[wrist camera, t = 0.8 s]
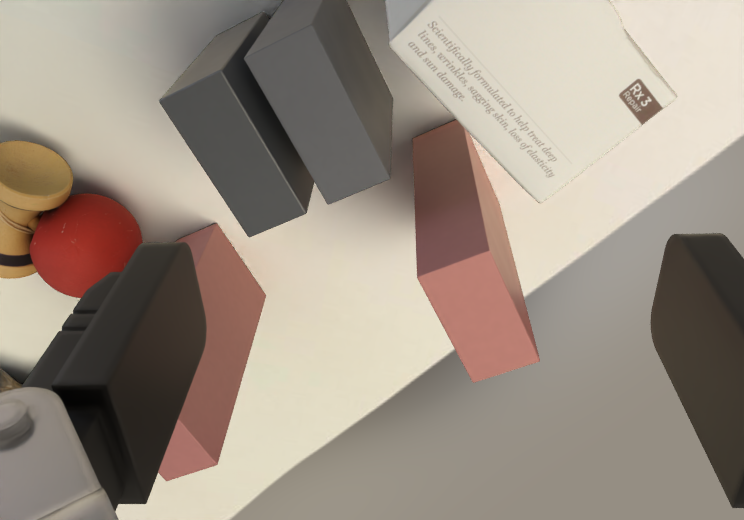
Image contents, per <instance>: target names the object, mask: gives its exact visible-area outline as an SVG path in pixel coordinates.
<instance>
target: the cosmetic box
mask: <svg viewBox="0 0 744 520" xmlns="http://www.w3.org/2000/svg"><path fill="white" fill-rule="evenodd" d="M385 4H386V13H387V20H388V30H389V40H390V41H389V46H390V48H391V49H392V50H393V51H394V52H395V53H396V54H397V55H398V56H399V58H400V59H401V60H402V61H403V62H404V63H405V64H406V65H407V66H408V68H409V69H410V70H411V71H412V72H413V73H414V74H415V75H416V76H417V77H418V78H419V80H420V81H421V82H422V83H423V84H424V85H425V86H426V87H427V88H428V89H429V90H430V92H431V93H432V94H433V95H434V96H435V97H436V98H437V99H438V100H439V101H440V102H441V104H442V105H443V106H444V107H445V108H446V109H447V110H448V111H449V112H450V113H451V114H452V115H453V116H454V117H455V118H456V119H457V120H458V122H459V123H460V124H461V125H462V126H463V127H464V128H465V129H466V130H467V131H468V132H469V133H470V134H471V135H472V136H473V137H474V138H475V139H476V140H477V141H478V142H479V143H480V144H481V145H482V146H483V147H484V148H485V149H486V150H487V151H488V152H489V154H490V155H491V156H492V157H493V158H494V159H495V160H496V161H497V162H498V163H499V164H500V165H501V166H502V167H503V168H504V169H505V170H506V171H507V172H508V173H509V175H510V176H511V177H512V178H513V179H514V180H515V181H516V182H517V183H518V184H519V185H520V186H521V187H522V188H523V189H524V190H525V191H526V192H528V193H529V194H530V195H531V196H532V197H533V198H534V199H535V200H536V201H537V202H538V203H543V202H544V201H545V200H547V199H548V198H549V197H551V196H552V195H553V194H555V193H556V192H558V191H559V190H560V189H561V188H563V187H564V186H565V185H566V184H568V183H569V182H570V181H572V180H573V179H574V178H576V177H577V176H578V175H579V174H581V173H582V172H583V171H584V170H586V169H587V168H588V167H589V166H591V165H592V164H593V163H595V162H596V161H597V160H598V159H600V158H601V157H602V156H603V155H605V154H606V153H607V152H609V151H610V150H611V149H612V148H614V147H615V146H616V145H618V144H619V143H620V142H621V141H623V140H624V139H625V138H627V137H628V136H629V135H630V134H632V133H633V132H634V131H635V130H637V129H638V128H639V127H640V126H642V125H643V124H644V123H645V122H646V121H648V120H649V119H650V118H652V117H653V116H654V115H656V114H657V113H658V112H660V111H661V110H662V109H664V108H665V107H666V106H668V105H669V104H671V103H672V102H673V101H675V100H676V98H677V95H676V93H675V92H674V91H673V90H672V89H671V87H670V86H669V85H668V84H667V82H666V81H665V80H664V79H663V77H662V76H661V75H660V74H659V72H658V71H657V70H656V69H655V67H654V66H653V65H652V63H651V62H650V61H649V60H648V58H647V57H646V56H645V55H644V53H643V52H642V51H641V50H640V48H639V47H638V46H637V44H636V43H635V42H634V40H633V39H632V38H631V37H630V35H629V34H628V33H627V31H626V30H625V29H624V27H623V25H622V21H621V18H620V16H619V14H618V12H617V11H616V9H615V8H614V6H613V5H612V3H611V2H610V1H609V0H385Z"/></svg>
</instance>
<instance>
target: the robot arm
mask: <svg viewBox="0 0 744 520" xmlns="http://www.w3.org/2000/svg"><path fill="white" fill-rule="evenodd" d="M206 333H207V325H206V315H205V310H204V306H203V301H202V297H201V292H200V287H199V283H198V278H197V274H196V269H195V265H194V260H193V256H192V252H191V249H190V247H189V245H188V244H187V243H185V242H166V243H141V244H140V245H139V246H138V247H137V249H136V250H135V252H134V253H133V255H132V257H131V258H130V260H129V261H128V263H127V265H126V266H125V268H124V269H123V271H122V272H110V273H109V274H108V275H106V276H105V277H104V278H102V279H101V280H100V281H98V282H97V283H95V284H94V285H93V286H91V287H90V288H89V289H87V290H86V292H85V293H84V295H83V296H82V298H81V299H80V301H79V302H78V304H77V305H76V307H75V308H74V310H73V314H70V316H69V317H68V318H67V320H66V321H65V323H64V324H63V326H62V331H59V332H58V333H57V335H56V336H55V338H54V339H53V341H52V342H51V344H50V345H49V347H48V348H47V349H46V351H45V352H44V354H43V355H42V357H41V358H40V360H39V361H38V363H37V364H36V366H35V367H34V369H33V370H32V372H31V373H30V375H29V376H28V378H27V379H26V380H25V382H24V383H23V385H22V386H21V388H17V389H13V390H9V391H5V392H2V393H0V520H118V518H117V515H116V513H115V511H116V508H117V506H118V504H146V503H147V500H148V498H149V495H150V492H151V490H152V487H153V484H154V482H155V479H156V476H157V474H158V471H159V468H160V466H161V463H162V460H163V458H164V455H165V452H166V450H167V447H168V444H169V442H170V439H171V437H172V434H173V431H174V429H175V426H176V423H177V421H178V418H179V415H180V413H181V410H182V407H183V405H184V402H185V399H186V397H187V394H188V391H189V389H190V386H191V383H192V381H193V378H194V375H195V373H196V370H197V368H198V365H199V362H200V360H201V357H202V354H203V351H204V348H205V343H206ZM651 333H652V339H653V343H654V346H655V348H656V351H657V353H658V355H659V357H660V359H661V361H662V363H663V365H664V367H665V369H666V371H667V374H668V376H669V378H670V379H671V381H672V384H673V386H674V388H675V390H676V392H677V394H678V396H679V398H680V400H681V402H682V405H683V406H684V409H685V411H686V413H687V415H688V417H689V419H690V421H691V423H692V425H693V427H694V429H695V431H696V433H697V436H698V438H699V440H700V442H701V444H702V446H703V448H704V450H705V452H706V454H707V456H708V458H709V460H710V462H711V465H712V466H713V468H714V471H715V473H716V475H717V477H718V479H719V481H720V483H721V485H722V487H723V489H724V491H725V494H726V496H727V498H728V500H729V502H730V504H731V506H732V507H733V508H744V259H743V257H742V256H741V255H740V253H739V252H738V251H737V250H736V248H735V247H734V246H733V245H732V243H731V242H730V241H729V239H728V238H727V237H726V236H725V235H723V234H721V233H717V234H716V233H713V234H674V235H672V236H671V237H670V238H669V240H668V241H667V244H666V248H665V252H664V256H663V261H662V265H661V270H660V274H659V279H658V284H657V288H656V293H655V297H654V302H653V306H652V312H651Z"/></svg>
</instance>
